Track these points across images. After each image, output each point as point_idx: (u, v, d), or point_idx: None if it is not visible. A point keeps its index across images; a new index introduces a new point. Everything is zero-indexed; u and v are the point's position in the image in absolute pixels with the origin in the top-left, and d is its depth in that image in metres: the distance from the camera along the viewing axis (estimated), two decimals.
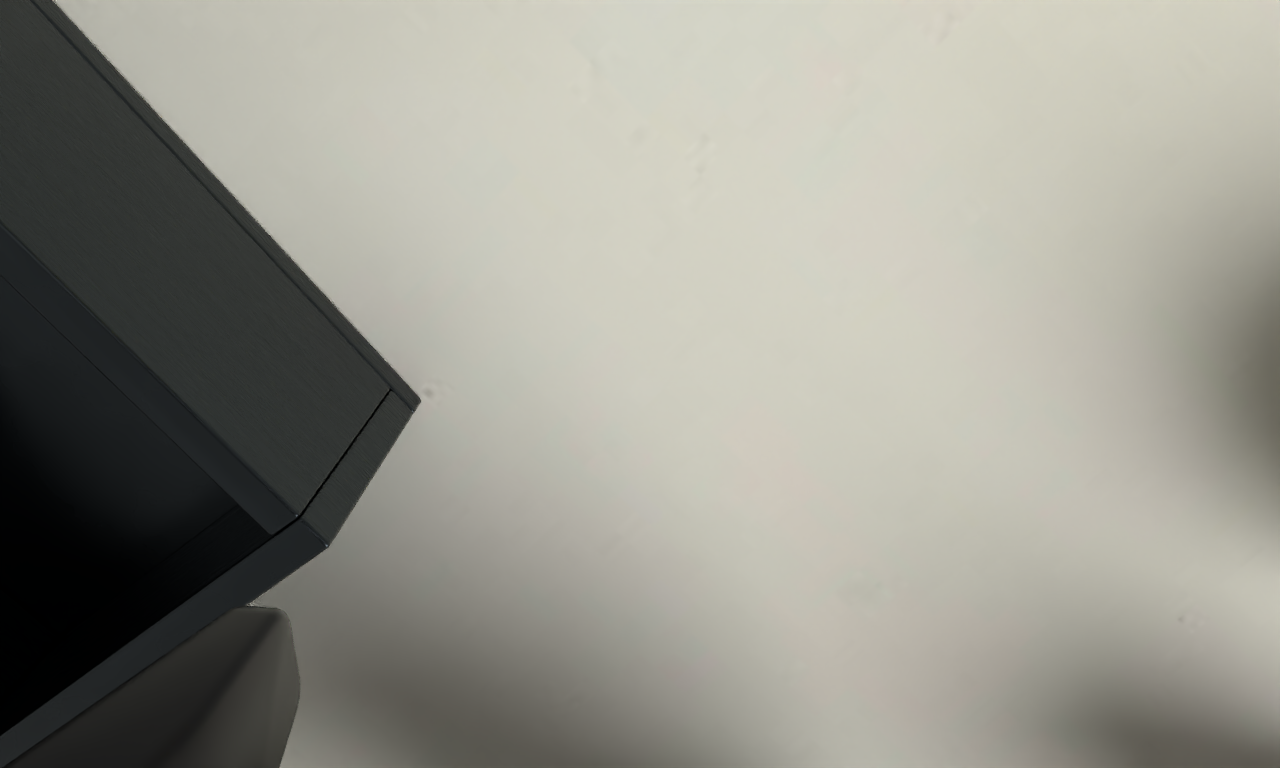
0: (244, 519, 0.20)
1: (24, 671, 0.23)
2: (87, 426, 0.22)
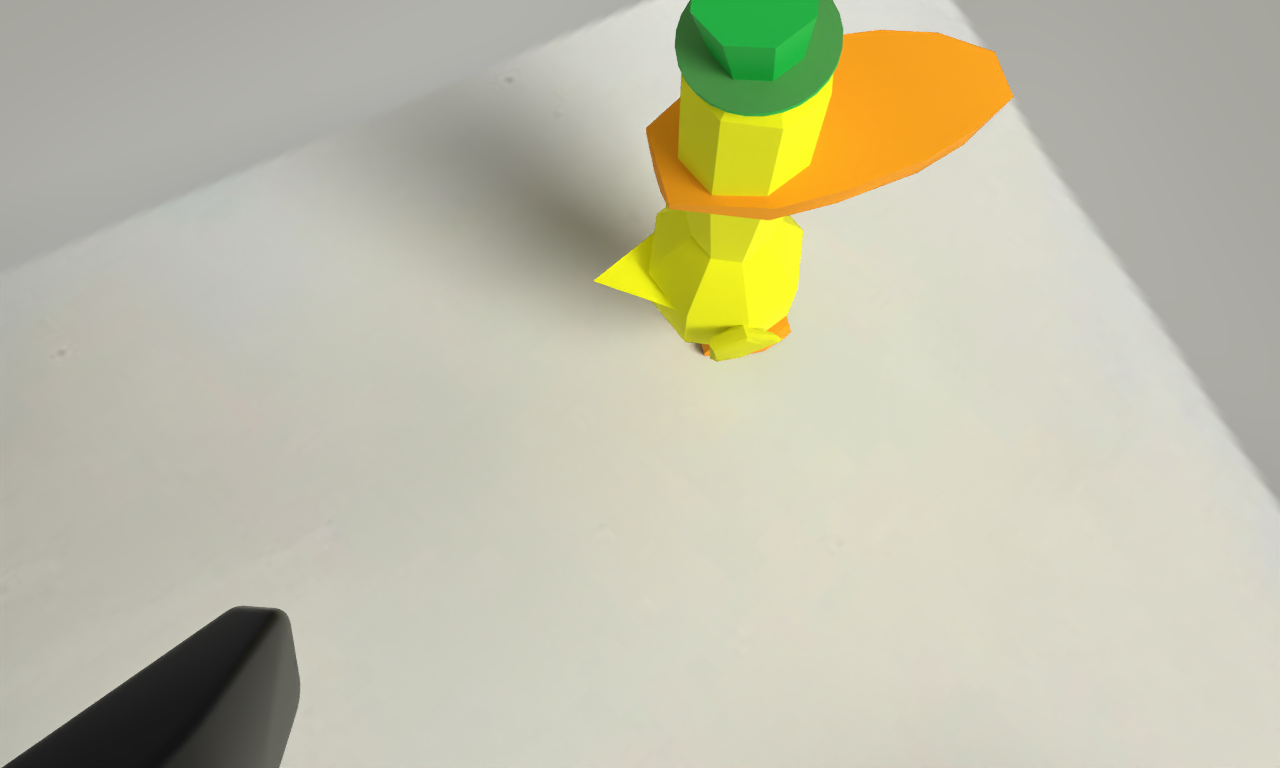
0: None
1: None
2: None
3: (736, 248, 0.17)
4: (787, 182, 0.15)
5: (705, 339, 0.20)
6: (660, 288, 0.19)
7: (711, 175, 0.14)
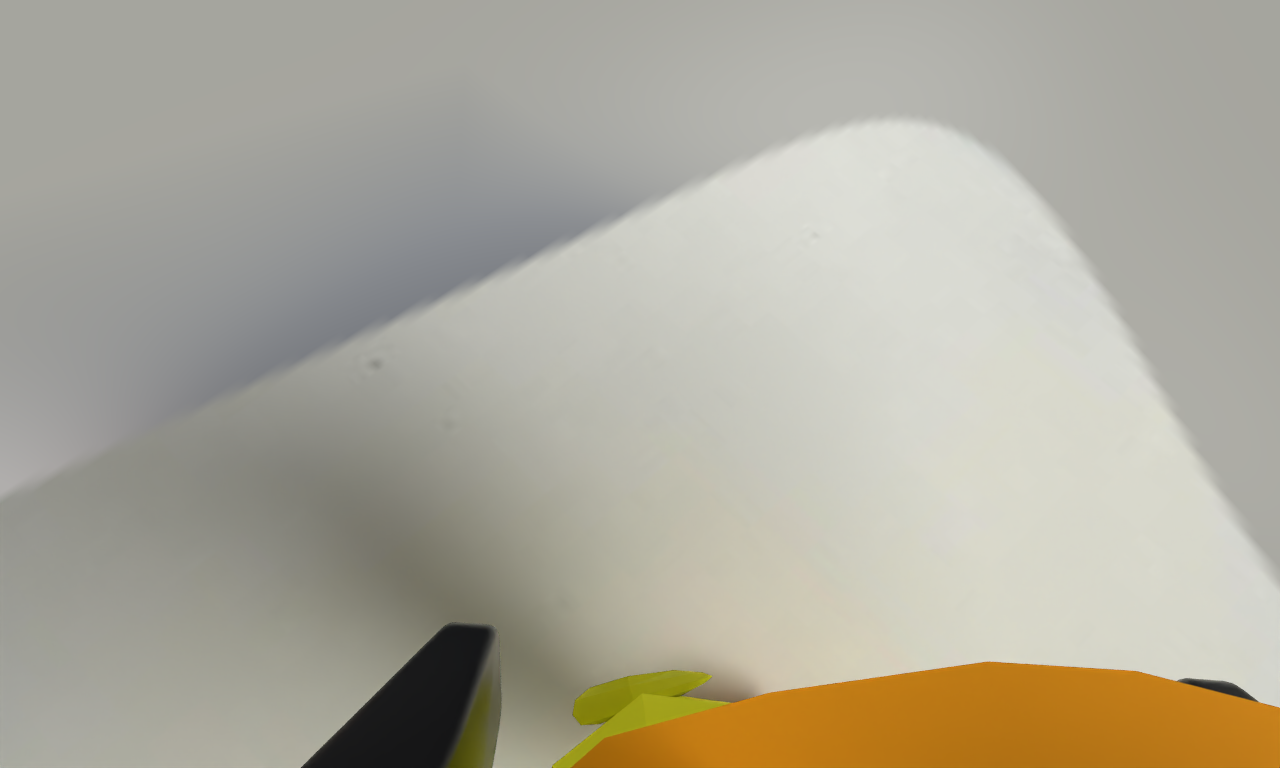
0: None
1: None
2: None
3: None
4: None
5: None
6: None
7: None
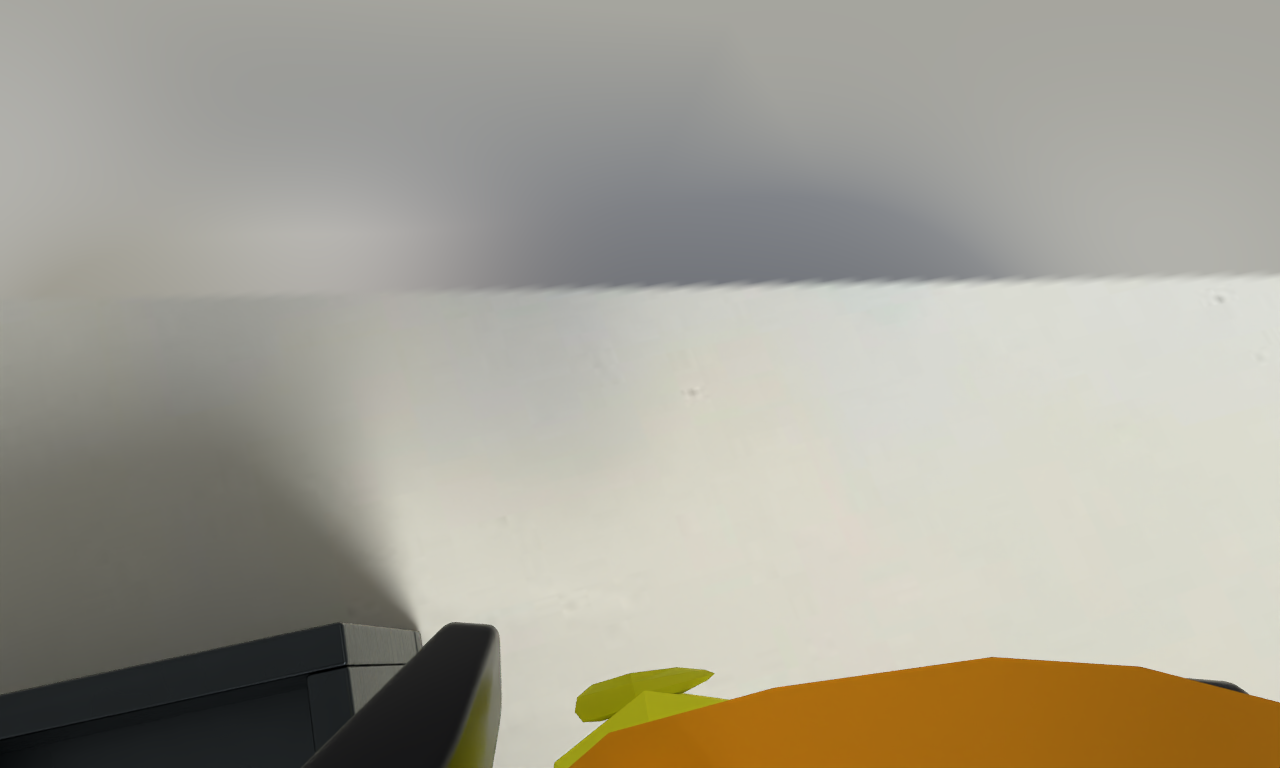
0: None
1: None
2: None
3: None
4: None
5: None
6: None
7: None
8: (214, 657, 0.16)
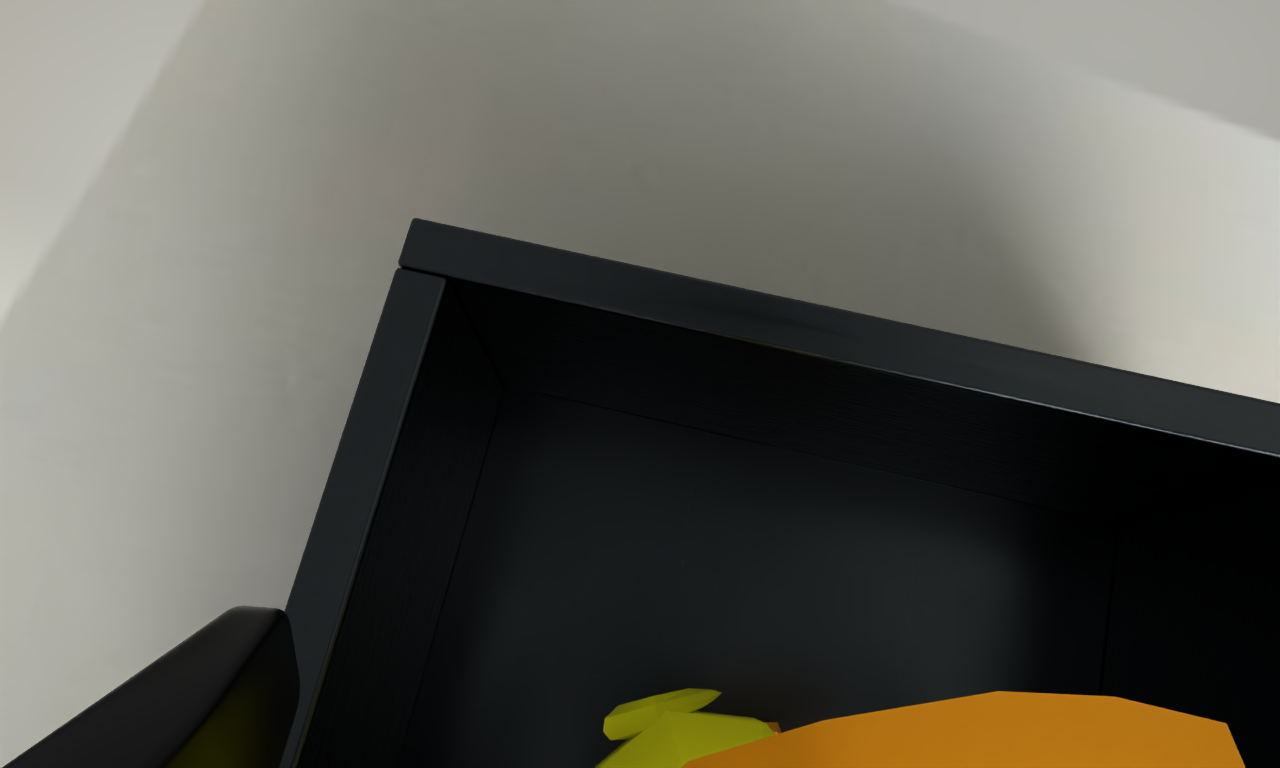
0: None
1: None
2: None
3: None
4: None
5: None
6: None
7: None
8: (1191, 393, 0.12)
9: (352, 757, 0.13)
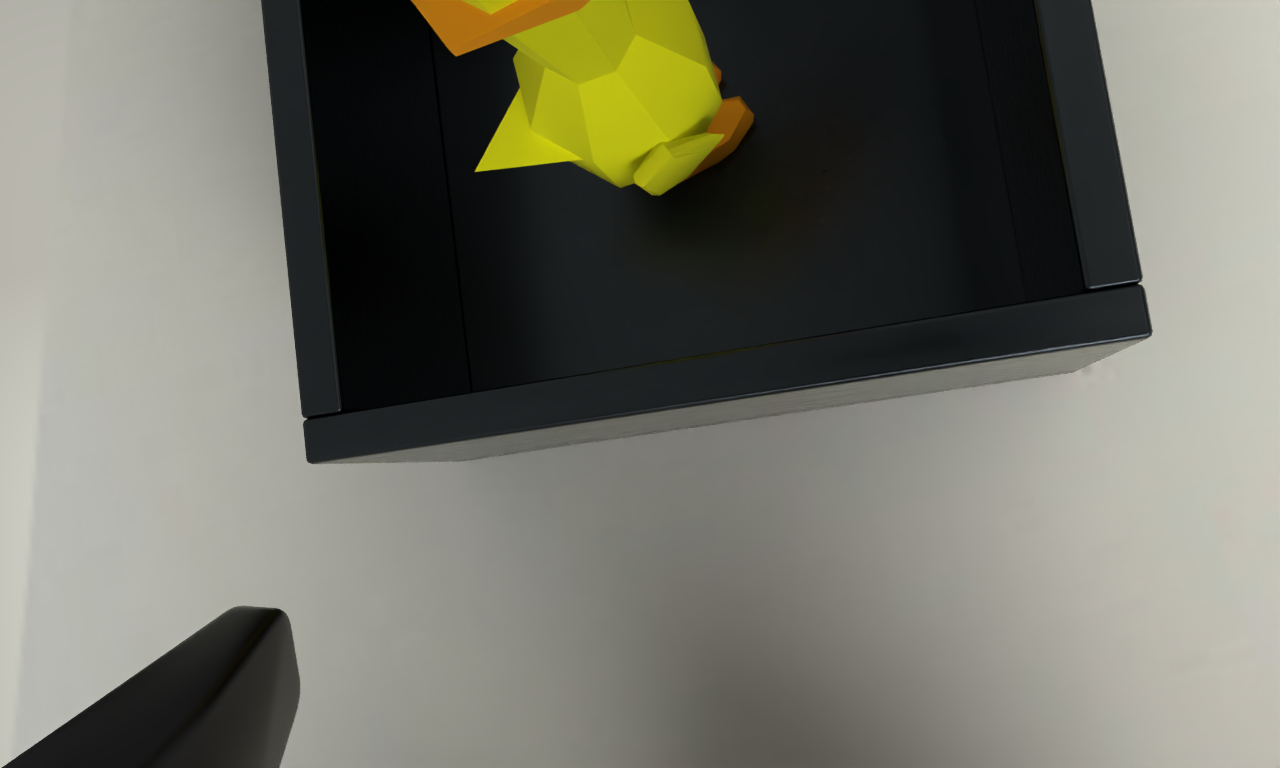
0: None
1: None
2: (705, 211, 0.19)
3: (589, 59, 0.13)
4: None
5: None
6: (554, 143, 0.16)
7: None
8: None
9: (382, 164, 0.18)
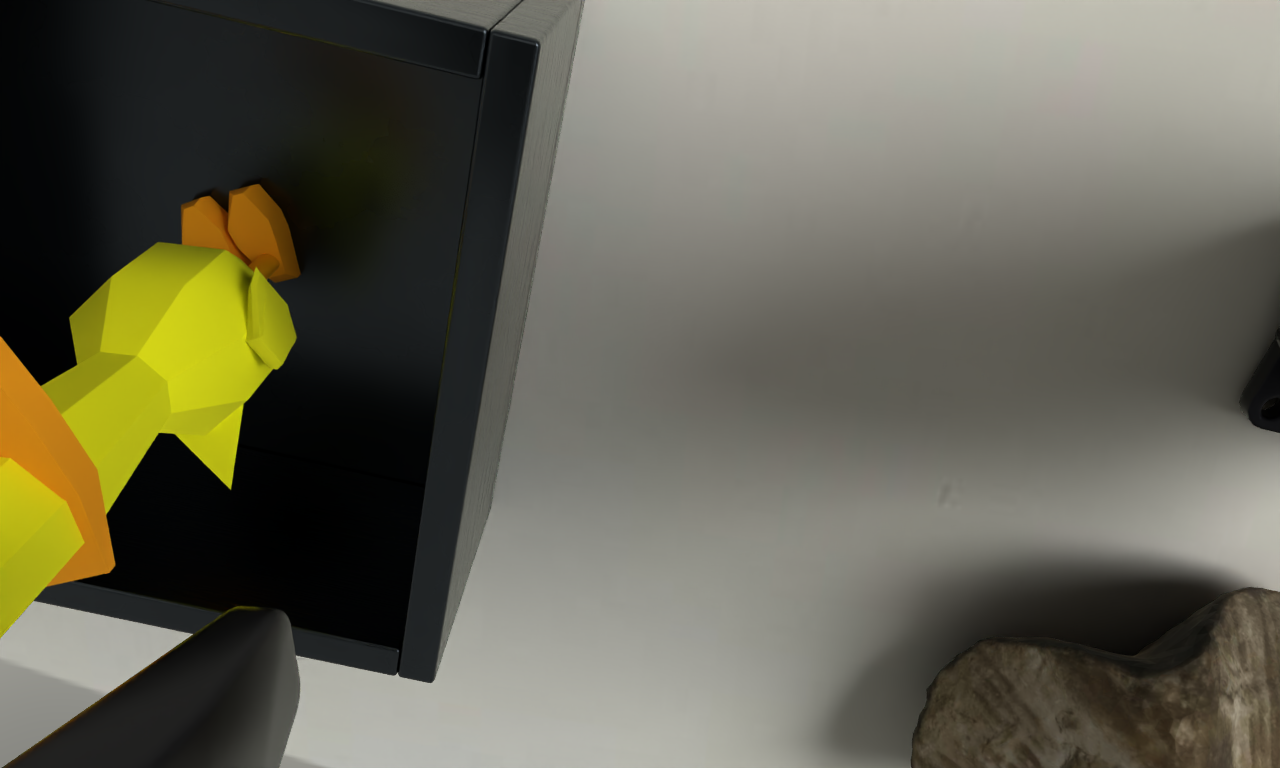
0: None
1: None
2: (332, 254, 0.20)
3: (149, 417, 0.15)
4: (41, 479, 0.12)
5: None
6: (223, 418, 0.17)
7: (58, 569, 0.13)
8: None
9: (208, 525, 0.20)
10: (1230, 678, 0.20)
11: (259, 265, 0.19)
